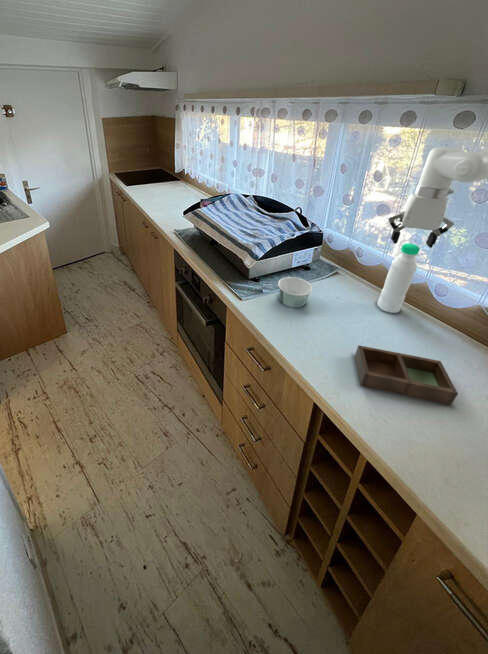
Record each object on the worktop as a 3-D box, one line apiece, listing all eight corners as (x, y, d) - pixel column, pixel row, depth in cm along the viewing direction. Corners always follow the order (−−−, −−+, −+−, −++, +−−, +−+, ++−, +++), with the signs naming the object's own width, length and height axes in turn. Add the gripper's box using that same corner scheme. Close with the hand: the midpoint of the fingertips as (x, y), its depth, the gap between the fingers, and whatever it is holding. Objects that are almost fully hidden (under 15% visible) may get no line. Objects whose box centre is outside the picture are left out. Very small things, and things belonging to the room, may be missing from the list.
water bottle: (395, 303, 112) (419, 242, 100) (402, 315, 106) (428, 251, 94) (374, 300, 114) (395, 240, 102) (380, 312, 108) (403, 249, 96)
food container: (292, 313, 108) (295, 298, 104) (269, 296, 117) (271, 282, 114) (316, 303, 113) (319, 288, 110) (291, 287, 122) (294, 273, 119)
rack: (434, 372, 85) (440, 360, 82) (450, 405, 76) (458, 393, 73) (354, 356, 90) (358, 345, 88) (360, 385, 81) (365, 373, 79)
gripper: (460, 190, 91) (438, 242, 99) (394, 186, 95) (378, 235, 103) (472, 198, 84) (447, 252, 93) (401, 193, 89) (383, 245, 97)
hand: (411, 243), depth 98 cm, fingers open, 9 cm apart
